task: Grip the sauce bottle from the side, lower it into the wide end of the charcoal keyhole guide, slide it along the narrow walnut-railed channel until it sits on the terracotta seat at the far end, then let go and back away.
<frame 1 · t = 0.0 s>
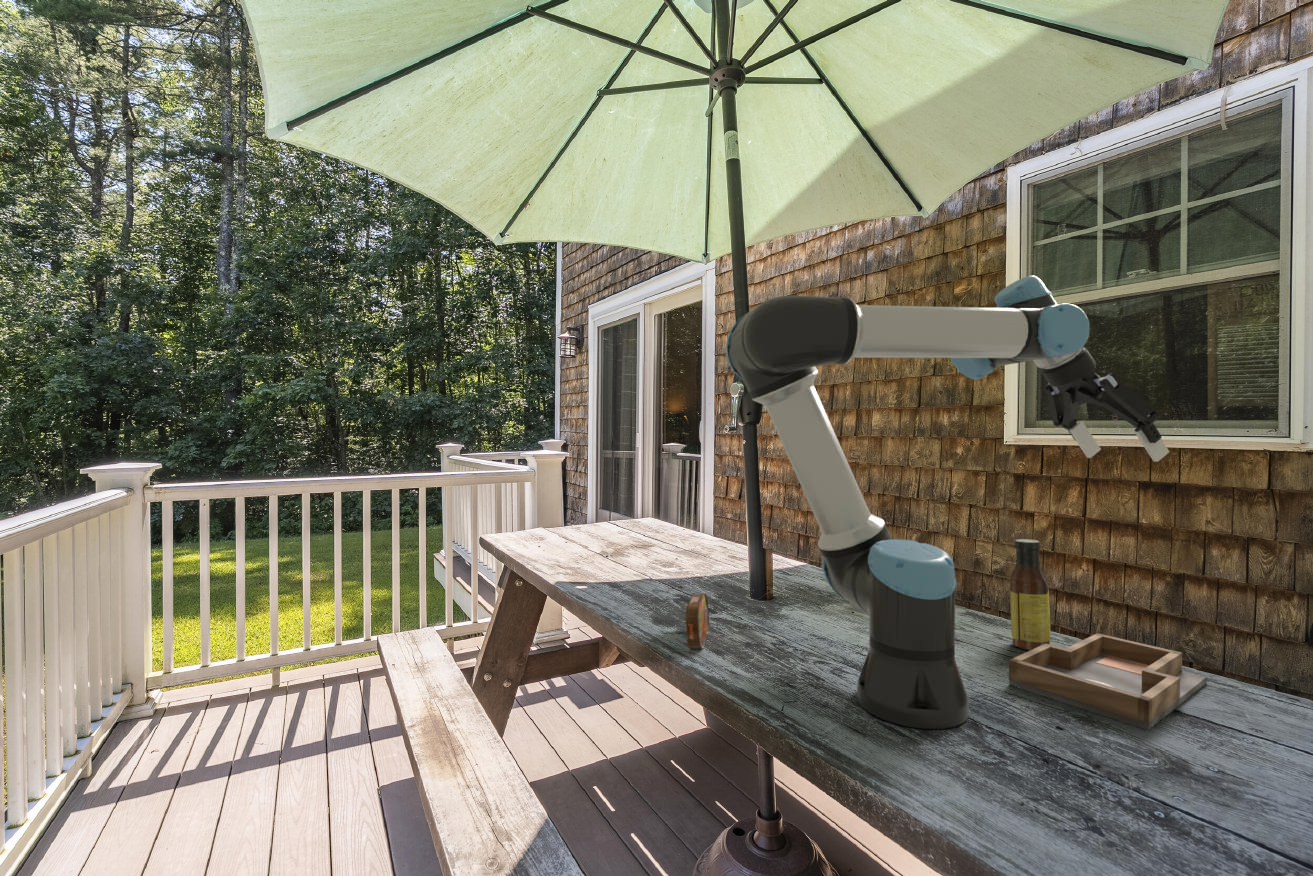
hand: (1125, 455, 109), 36 cm above the table, tool tilted 35°, fingers open, 13 cm apart
tin: (697, 642, 118), on the table
sauce bottle: (1029, 648, 114), on the table
keyhole guide: (1107, 684, 97), on the table
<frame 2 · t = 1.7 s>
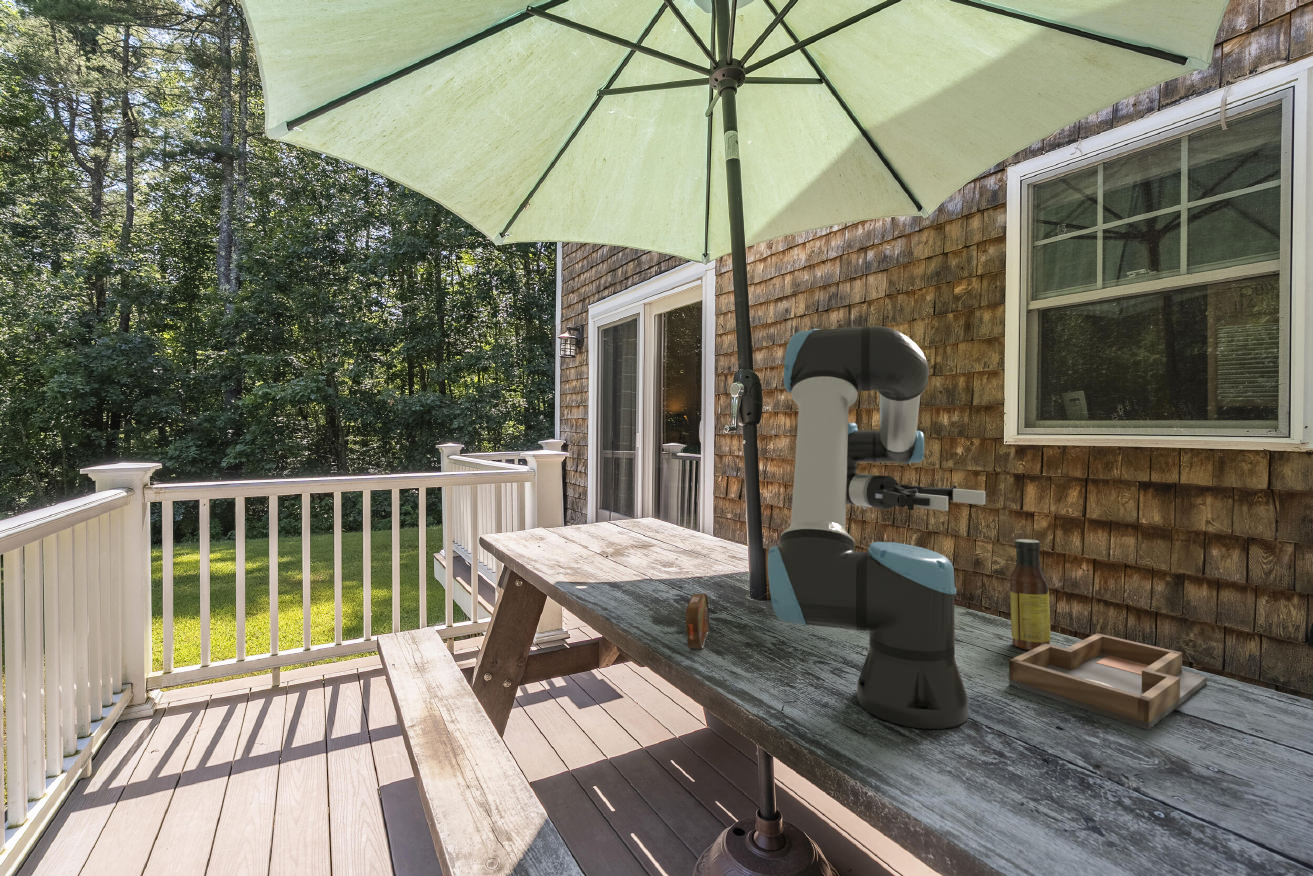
hand: (966, 500, 122), 26 cm above the table, tool horizontal, fingers open, 13 cm apart
nothing on the table moved.
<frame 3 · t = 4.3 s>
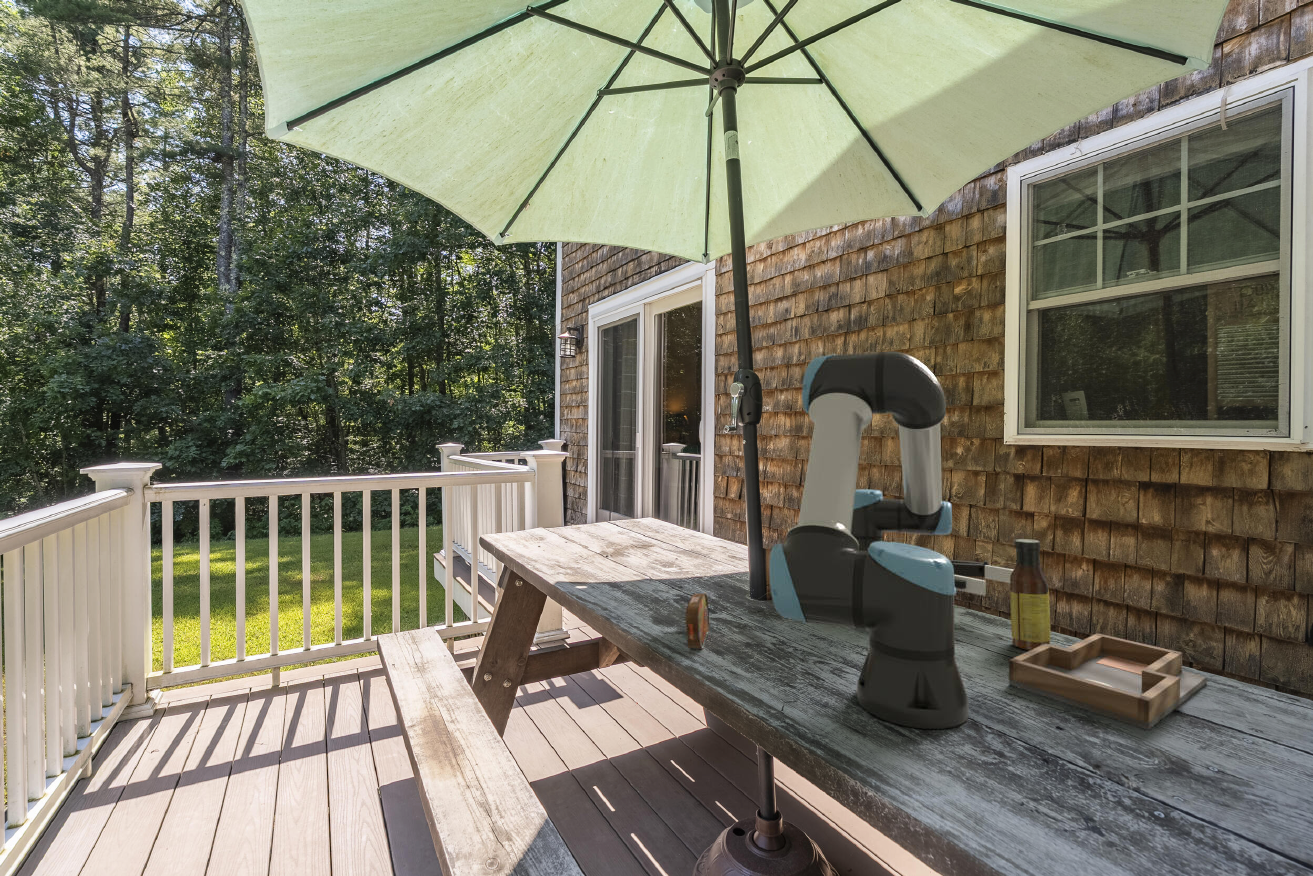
hand: (1002, 582, 119), 11 cm above the table, tool horizontal, fingers open, 13 cm apart
nothing on the table moved.
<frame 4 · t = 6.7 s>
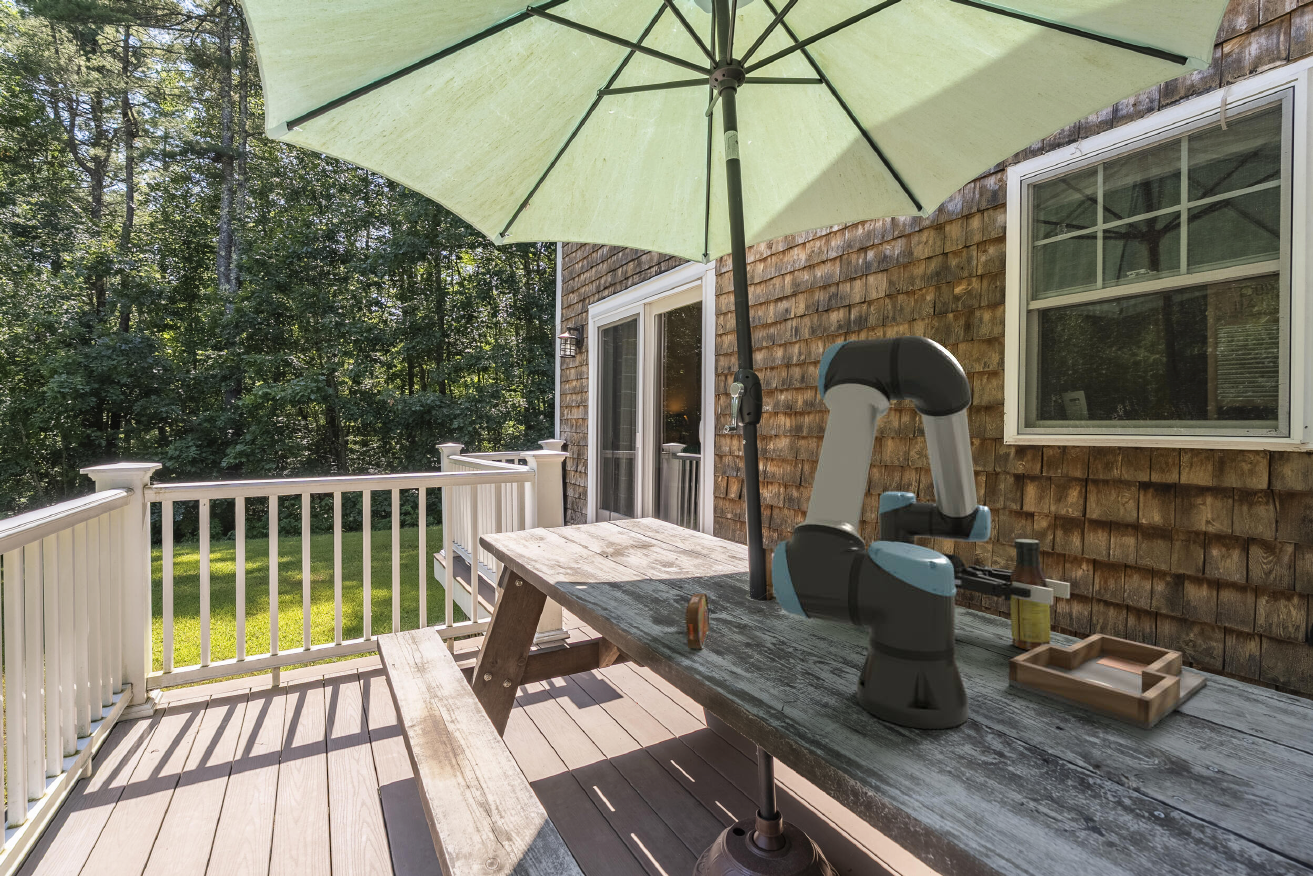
hand: (1060, 594, 110), 11 cm above the table, tool horizontal, fingers closed on sauce bottle, 6 cm apart
sauce bottle: (1029, 648, 114), on the table, touching gripper
everything else where it was.
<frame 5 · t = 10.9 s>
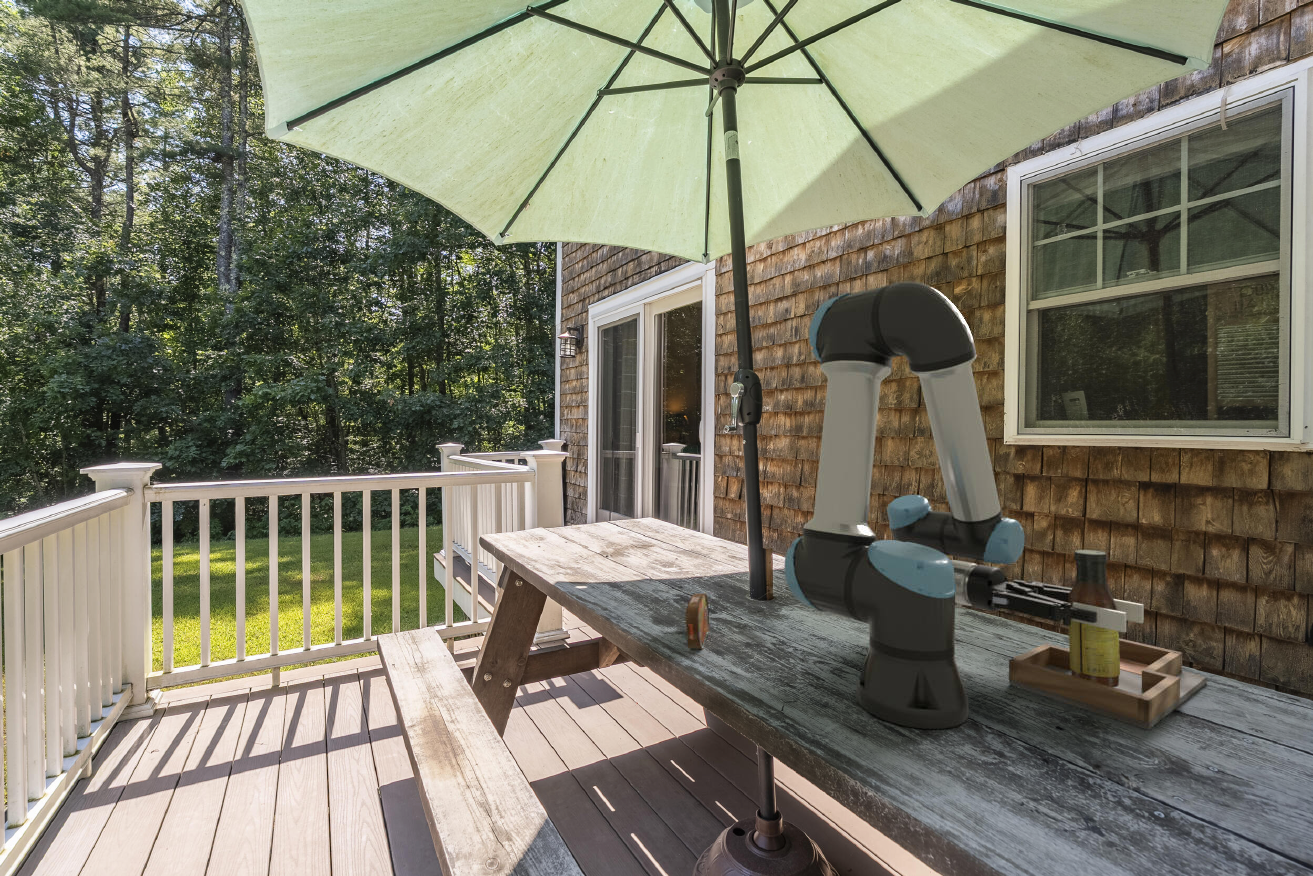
hand: (1133, 618, 89), 13 cm above the table, tool horizontal, fingers closed on sauce bottle, 6 cm apart
sauce bottle: (1093, 682, 94), point 2 cm above the table, touching gripper
everything else where it was.
when the fingers open (13 cm above the table, at t = 15.3 s): sauce bottle stays where it is, resting on keyhole guide.
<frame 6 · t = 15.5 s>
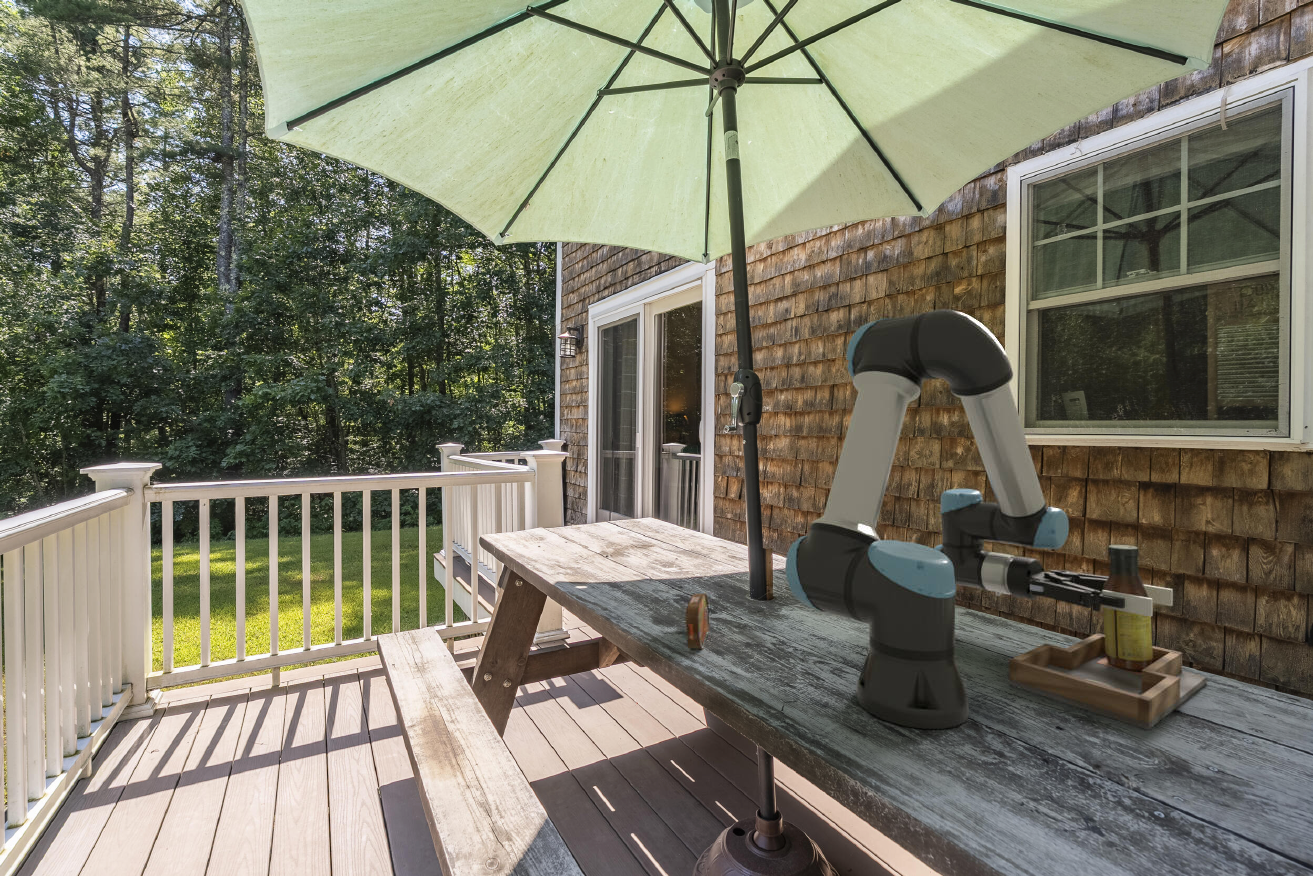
hand: (1162, 602, 98), 13 cm above the table, tool horizontal, fingers open, 9 cm apart
sauce bottle: (1127, 666, 102), point 1 cm above the table, touching keyhole guide
everything else where it was.
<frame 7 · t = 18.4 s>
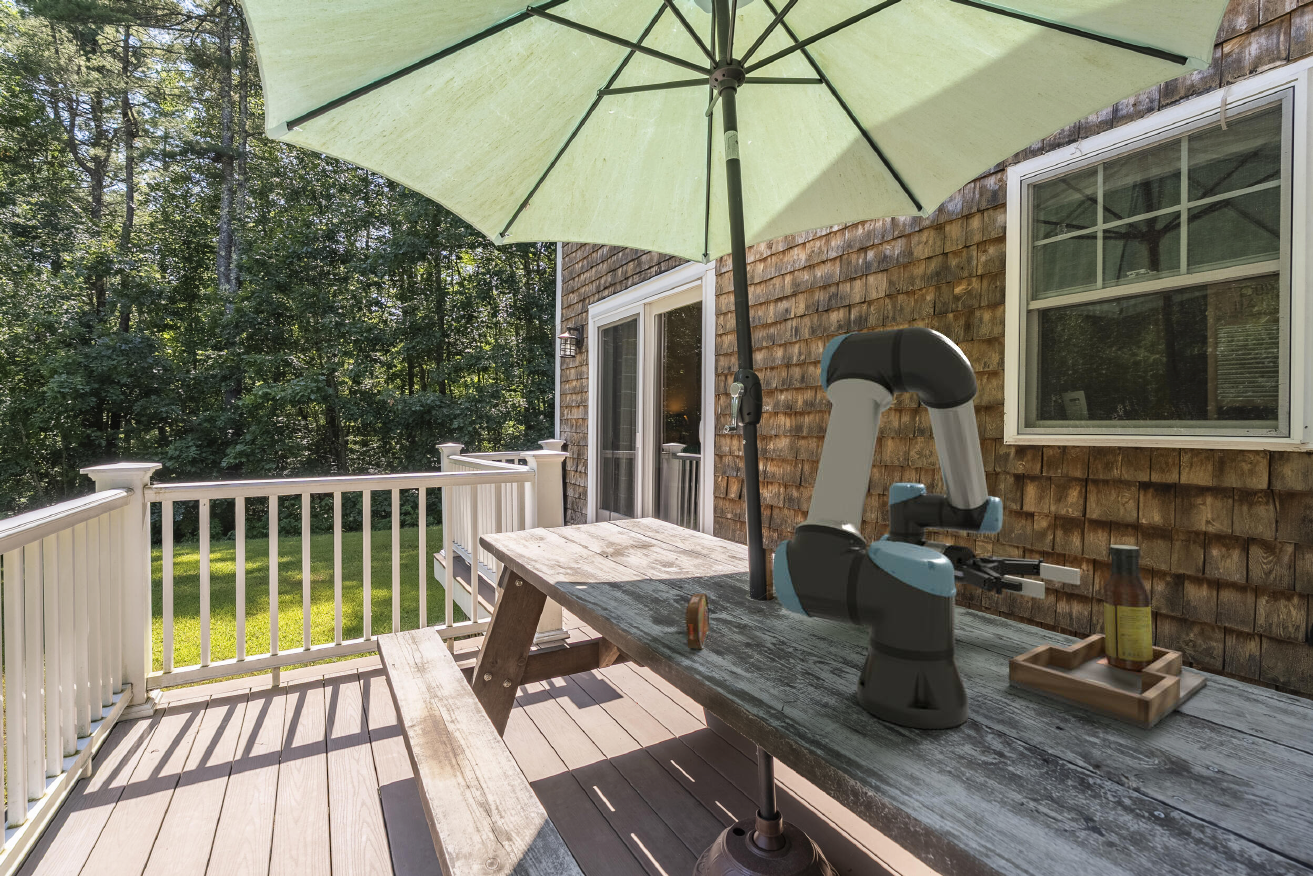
hand: (1062, 583, 109), 13 cm above the table, tool horizontal, fingers open, 13 cm apart
nothing on the table moved.
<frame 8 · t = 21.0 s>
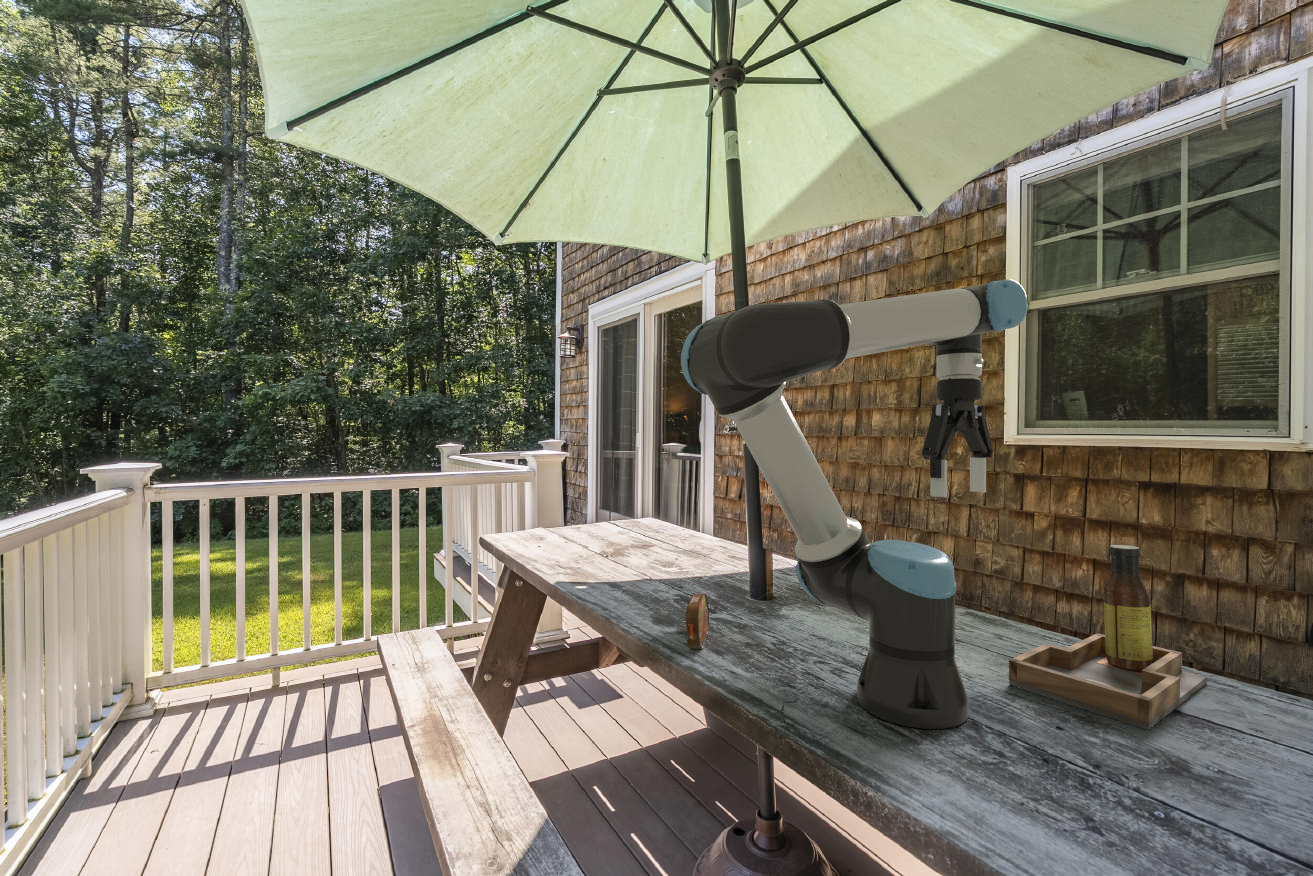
hand: (958, 494, 113), 29 cm above the table, tool pointing down, fingers open, 13 cm apart
nothing on the table moved.
at the end: sauce bottle 0.2 cm from the target spot on the keyhole guide, point 0.9 cm above the keyhole guide's base; sauce bottle tilted 0°; the gripper is holding nothing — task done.
